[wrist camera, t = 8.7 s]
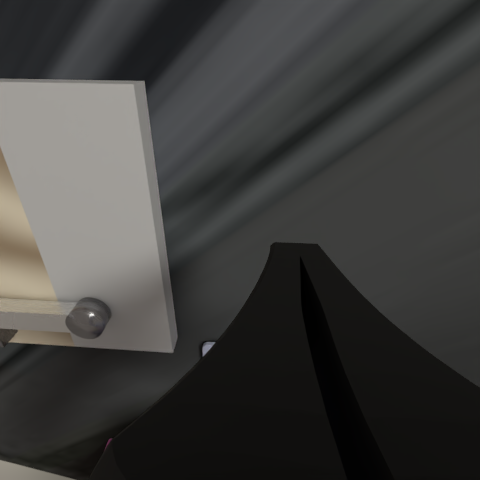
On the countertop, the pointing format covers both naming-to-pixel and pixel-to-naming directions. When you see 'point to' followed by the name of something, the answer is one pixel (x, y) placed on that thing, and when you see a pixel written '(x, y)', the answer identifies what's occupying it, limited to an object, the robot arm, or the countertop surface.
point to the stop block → (6, 336)
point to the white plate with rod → (93, 201)
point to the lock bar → (56, 316)
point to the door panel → (22, 261)
